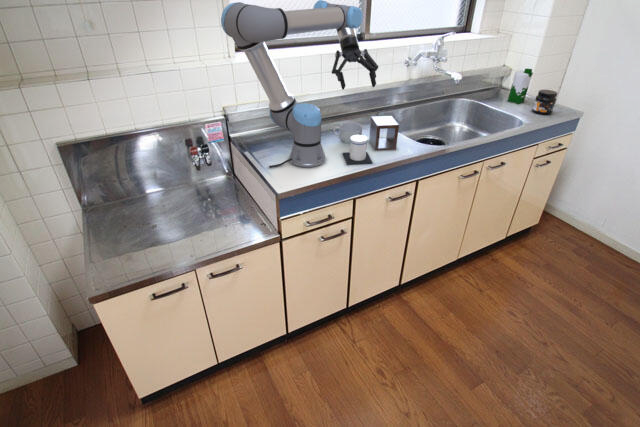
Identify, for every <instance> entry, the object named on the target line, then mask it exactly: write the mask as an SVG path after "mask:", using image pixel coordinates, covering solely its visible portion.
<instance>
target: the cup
mask: <svg viewBox="0 0 640 427" xmlns="http://www.w3.org/2000/svg"><path fill="white" fill-rule="evenodd" d="M367 148H368V137H367V136H366V135H364V134H363V135H362V134H361V135H353V136H351V138H350V144H349V152H350V159H352V160H356V161H361V160H364V159H365V158H366V152H367Z"/></svg>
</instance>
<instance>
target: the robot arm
mask: <svg viewBox="0 0 640 427" xmlns="http://www.w3.org/2000/svg"><path fill="white" fill-rule="evenodd" d="M363 19H364V14H363V11H362V9H361V8H360V7H358V6H355V5H347V4H336V3H330V2H328V1H326V0H317V1H316V2H315V3H314V5H313V8H306V9H295V10H294V9H293V10H284V9H282V8H281V7H275V8H274V7H265V6H262V5H261V6H260V5H257V4H248V3H245V2H241V1H239V2H231V3H229V4H227V5H226V6H225V7H224V9H223V10H222V13H221V16H220V25H221V28H222V31H223V32H224V33H225V34H226V35H227V36H228V37H230V38H231V39H232V40H233V42H234V44H235V46H236V47H237V49H238V50H239V51H242V52H244V54H245V56H246V58H247V60H248V62H249V64H250V65H251V68H252V70H253V71H254V73H255V75H256V77H257V79H258V81H259V83H260V85H261V87H262V89H263V91H264V93H265V95H266V96H267V98H268V100H269V102H268V107H269V111H268V112H269V117H270V119H271V121H272V122H273V123H274V124H275V125H277V126H279V127H280V128H282V129H284V130H286V131H288V132H291V133H292V134H293V145H292V148H291V151H290V154H289V158H288V159H287V160H284V161H283V162H280V163H277V164H273V165H269V168H270V169H271V168H277V167H281V166H283V165H285V164H287V163H289V162H290V163H291V164H292V165H294V166H295V167H298V168H307V169H308V168H316V167H320V166H322V165H323V164H324V163H325V161H326V160H325V159H326V156H325V151H324V148H323V146H322V119H323V118H322V112H321V110H320V108H319V107H318V106H316V105H314V104H311V103H305V102H302V103H298V101H297V100H296V98H295V95H294V93H292V92H289V91H288V89H287V87H286V84H285V82H284V80H283V78H282V76H281V74H280V72H279V70H278V67H277V65H276V63H275V60H274V59H273V57H272V54H271V52H270V50H269V48H268V46H267V42H271V41H277V40H284V39H285V38H286V37H287V36H290V35H299V34H306V33H314V32H320V31H329V30H336V33H337V37H338V41H339V45H340V46H339V47H340V50H341V51H340V50H337V49H336V51H335V53H334V57H335V59H334V62H333V66H332V69H331V74H332V75H335V77H336V78H337V81H338V82H339V83H340V86H341V90H345V88H346V82H345V77H344V73H343V71H342V70H343V68H344V67H345V65H346V64H347V62H348V63H358V64H360V65H361V66H363V67H364V68H365V69H366V70H367V71H368V75H369V78H370V83H371V86H372V88H375V87H376V85H377V80H376V78H377V73H376V72H377V71H378V69H379V65H378V64H377V63H376V61H375V60H374V59H373V57H372V56H371V55H370V53H369V51H368V50H367V48H364V49H363V50H361V49H360V44H359V40H358V36H357V33H356V29H358V28H359V27H361V25H362V23H363ZM341 57H342V58H343V60H342V62H341V63H340V65H339V67H338V63H339V60H340V58H341ZM337 67H338V68H337Z"/></svg>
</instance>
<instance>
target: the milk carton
mask: <svg viewBox="0 0 640 427" xmlns="http://www.w3.org/2000/svg"><path fill="white" fill-rule="evenodd" d="M533 75H534V71H533V68H524V70H522V69H521V70H518V71H514V74H513V80H512V83H511V87H510V91H509V94H508V98H507V102H508V103H512V104H516V105H520V104H523V103H524V102H525V99H526V96H527V93H528V90H529V87H530V85H531V84H530V83H531V80H532V78H533Z"/></svg>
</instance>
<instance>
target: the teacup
mask: <svg viewBox="0 0 640 427" xmlns="http://www.w3.org/2000/svg"><path fill="white" fill-rule="evenodd" d="M336 130H338V132H339V133H337V132H336ZM362 132H363V125H362V124H361V123H358V122H356V121H344V122H341V123H340V125H339V126H334V127H333V128H332V133H333V135H335V137H338V139H340V140H341V141H342V142H343V143H345V144H348V145H350V138H351V136H353V135H362Z"/></svg>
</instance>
